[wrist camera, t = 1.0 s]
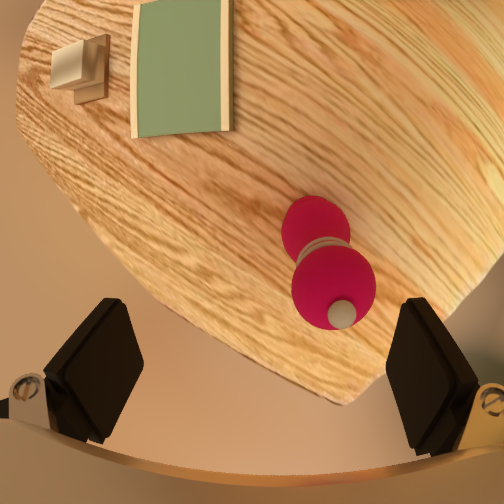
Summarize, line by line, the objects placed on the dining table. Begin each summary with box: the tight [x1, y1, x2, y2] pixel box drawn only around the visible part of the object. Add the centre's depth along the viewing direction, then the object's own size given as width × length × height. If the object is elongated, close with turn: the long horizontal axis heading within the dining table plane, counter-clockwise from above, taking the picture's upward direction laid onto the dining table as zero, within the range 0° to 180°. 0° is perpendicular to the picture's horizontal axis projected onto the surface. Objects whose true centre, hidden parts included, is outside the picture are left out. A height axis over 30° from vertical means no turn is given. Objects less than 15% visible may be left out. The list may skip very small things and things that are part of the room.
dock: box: [130, 0, 234, 139], centre depth 27 cm, size 17×11×3 cm, turn 1°
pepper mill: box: [282, 196, 376, 330], centre depth 26 cm, size 7×7×20 cm
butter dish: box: [50, 34, 110, 105], centre depth 26 cm, size 9×5×6 cm, turn 1°
